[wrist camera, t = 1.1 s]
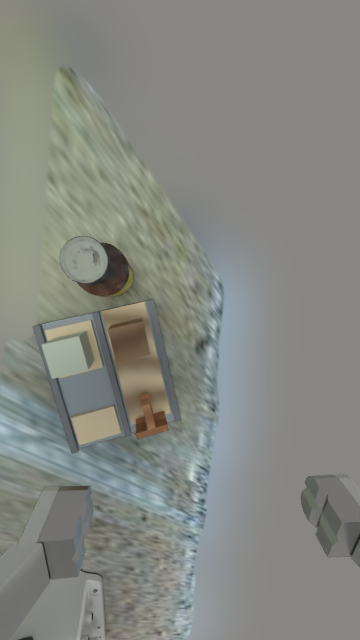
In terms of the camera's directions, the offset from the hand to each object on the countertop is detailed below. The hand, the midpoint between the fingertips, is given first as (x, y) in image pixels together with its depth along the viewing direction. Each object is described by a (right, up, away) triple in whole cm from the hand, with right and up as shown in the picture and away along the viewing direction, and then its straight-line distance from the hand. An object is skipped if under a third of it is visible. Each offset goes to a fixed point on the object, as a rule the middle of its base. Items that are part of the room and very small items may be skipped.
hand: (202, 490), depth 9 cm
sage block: (-18, +2, +29) cm, 34 cm away
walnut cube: (-9, +4, +30) cm, 32 cm away
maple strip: (-8, -1, +32) cm, 33 cm away
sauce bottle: (-12, +14, +31) cm, 36 cm away
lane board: (-12, -3, +32) cm, 35 cm away
